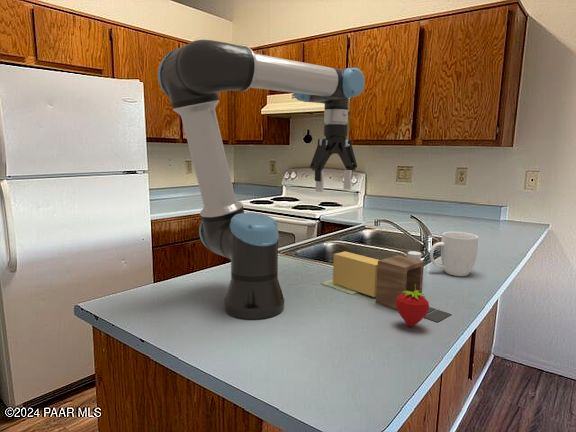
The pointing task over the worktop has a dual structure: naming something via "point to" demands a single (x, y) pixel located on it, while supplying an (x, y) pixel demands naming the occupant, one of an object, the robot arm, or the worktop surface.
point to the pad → (338, 287)
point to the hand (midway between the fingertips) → (333, 190)
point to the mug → (457, 252)
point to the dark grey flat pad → (436, 315)
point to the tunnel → (397, 278)
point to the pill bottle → (414, 255)
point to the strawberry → (412, 307)
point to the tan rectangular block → (355, 272)
